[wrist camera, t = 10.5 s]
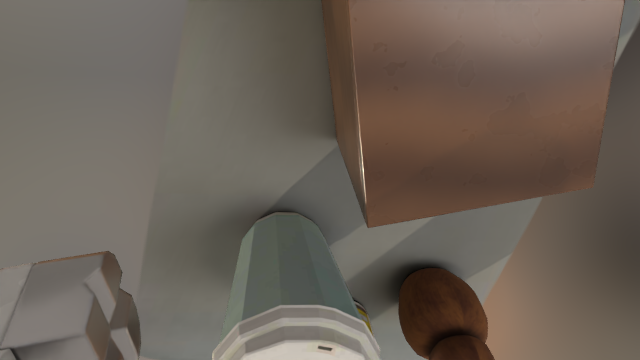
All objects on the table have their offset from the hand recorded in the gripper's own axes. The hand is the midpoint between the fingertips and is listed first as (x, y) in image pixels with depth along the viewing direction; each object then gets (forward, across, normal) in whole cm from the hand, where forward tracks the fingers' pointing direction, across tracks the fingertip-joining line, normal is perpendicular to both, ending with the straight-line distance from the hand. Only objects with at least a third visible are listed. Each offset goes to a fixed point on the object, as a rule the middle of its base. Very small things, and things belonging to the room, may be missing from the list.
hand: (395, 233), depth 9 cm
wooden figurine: (+31, -9, +32) cm, 46 cm away
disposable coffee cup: (+31, +3, +24) cm, 40 cm away
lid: (+21, -10, +7) cm, 24 cm away
